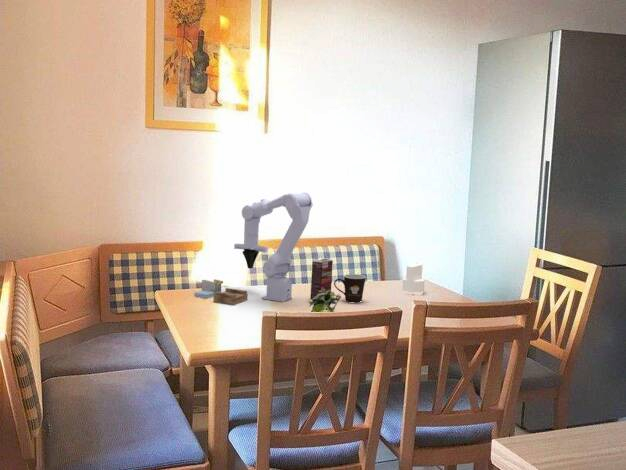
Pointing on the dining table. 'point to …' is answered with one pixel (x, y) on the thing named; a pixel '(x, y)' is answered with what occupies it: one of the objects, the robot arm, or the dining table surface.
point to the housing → (230, 296)
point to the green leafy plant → (324, 301)
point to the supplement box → (321, 276)
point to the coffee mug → (353, 287)
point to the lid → (204, 294)
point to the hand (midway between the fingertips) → (250, 268)
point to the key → (211, 285)
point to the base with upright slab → (413, 279)
